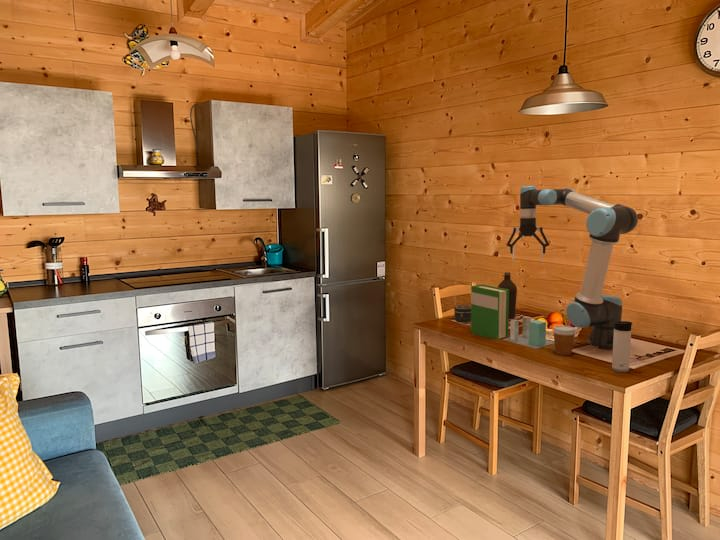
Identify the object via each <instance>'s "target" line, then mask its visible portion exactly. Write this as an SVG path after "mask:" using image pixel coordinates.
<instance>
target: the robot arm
mask: <svg viewBox="0 0 720 540" xmlns="http://www.w3.org/2000/svg"><path fill="white" fill-rule="evenodd" d="M519 190H520V192H519V193H520V194H519V217H520V219H519V227H516V226H515V227H513V230H512V233H511V235H510V237H509V239H508V241H507V243H506V246H507V247H509V248H510V249H509V251H510V254H512V261H515V245H516V244H517V242H518V241H519V240H521V238H522V237H532V236H533V237H534V238H535V239H536V241H537V242H538V243H539V244H540V245H541V250H540V251H541V253H540V258H541V259H540V261H541V262H542V261H544V254H546V247H549V246H550V242H549V241H548V238H547V237H546V234H545V232H544V231H543V229H544V228H543V227H542V226H540V227H539V226H538V227H537V218H536V217H537V206H545V207H547V206H553V205H554V206H556V205H557V206H558V205H561V206H564V207H567V208H570V209H572V210H575V211H579V212H581V213H583V214H586V215H588V216H587V219H586V223H585V225H586V228H587V229H586V230H587V232H588V233H589V235H588V237H589V238H590V240H591V244H590V248H589V252H588V258H587V260H586V265H585V270H584V273H583V277H582V283H581V287H580V290H579V292H577V293H575V296H574V300H573V301H572V302H570V303H569V304H567V306H566V311H565V312H566V317H567V319H568V322H569V323H570V324H571V325H573V327H574V328H579V329H581V328H584V329H585V328H591V327H592V330H591V332H590V334H589V337H588V339H587V340H588V342H587V343H588V345H591V346H594V347H595V348H596V347H597V349H600V350H610V351H611V350H612V351H613V338H614V323H616V322H619V321H622V316H623V315H622V313H623V300H622V298H621V297H618V296H615V295H609V294H603V293H602V291H603V288H604V285H605V281H606V277H607V273H608V269H609V268H608V267H609V265H610V261H611V256H612V252H613V249H614V248H613V247H614V245H615V244H617V243H619V242H620V241H619V240H620V236H621V235H624V234H628V233H631V232H632V231H634V229H635V228H636V227H637V226H638V223H639V216H638V213H637V212H636V210H635V209H634V208H632V207H631V206H628V205H624V204H620V203H615V204H613V203H609V202H606V201H602V200H601V199H597V198H594V197H591V196H588V195H584V194H581V193H579V192H576V190H575V189H573V188H547V189H546V188H544V189H537V186H536V185H522V186H520V189H519ZM518 231H519V235H518V236H517V237H516V238H515V240H514V241H513V242H512V240H513V238H514V237H515V234H516V233H517V232H518ZM537 231H538V232H539V233H540V235H541V236H542V238H543V240H544V241H542V239H541V238H540V237H539V236H538V235H537V234H536V232H537ZM544 242H545V243H544Z"/></svg>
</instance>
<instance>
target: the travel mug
mask: <svg viewBox="0 0 720 540" xmlns="http://www.w3.org/2000/svg"><path fill="white" fill-rule="evenodd" d="M632 326H633V322H632V321H629V320H625V321H624V320H621V321H619V322H616V323H614V338H613V350H612V360H611V361H612V362H611V370H613V372H617V373H629V371H630V361H631V344H632Z"/></svg>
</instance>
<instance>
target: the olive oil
mask: <svg viewBox="0 0 720 540" xmlns="http://www.w3.org/2000/svg"><path fill="white" fill-rule="evenodd" d="M503 275H504V276H503V277H504V278H503V280H502V281H501V282H500V283H499V284H498V285H497V287H498V288H503V289H508V290H509V318H508V320H509V319H515V318H516V312H517V311H516V309H517V294H518V288H517V285H516V284H515V283H514V282H513V281H512V279H511V272H509V271H506V272H504V274H503Z"/></svg>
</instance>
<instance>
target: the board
mask: <svg viewBox="0 0 720 540" xmlns="http://www.w3.org/2000/svg"><path fill="white" fill-rule="evenodd" d="M519 336H522V333H520V334H518V339H520V340H521V341H517V342H512V341H509V340H507V339H510V336H508V337H505V338H503V339H502V338H501V339H502V340H503V341H505V342H506V341H507V342H510V343H514V344H518V345H521V346H524V347H525V346H526V347H529V348H533V349H540V348H543V347H545V346H549V345H552V344H555V341H552V340H548V339H546V342H545V345H543V346H539V347H537V346H533V345H530V344H529V338H528V339H526V338H522V337H519Z"/></svg>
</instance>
